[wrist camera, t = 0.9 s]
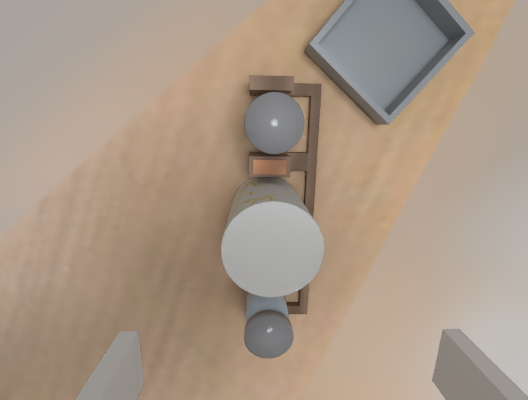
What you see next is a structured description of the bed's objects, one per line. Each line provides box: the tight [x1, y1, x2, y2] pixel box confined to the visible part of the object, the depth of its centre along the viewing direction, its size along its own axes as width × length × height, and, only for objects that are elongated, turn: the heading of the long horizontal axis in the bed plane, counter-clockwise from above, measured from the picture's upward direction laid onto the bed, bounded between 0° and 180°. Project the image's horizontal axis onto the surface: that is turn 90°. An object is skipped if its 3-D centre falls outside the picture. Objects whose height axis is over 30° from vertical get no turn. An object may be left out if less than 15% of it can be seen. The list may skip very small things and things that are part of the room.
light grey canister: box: [221, 177, 324, 297], centre depth 28 cm, size 8×8×12 cm
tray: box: [304, 0, 475, 125], centre depth 29 cm, size 11×11×3 cm
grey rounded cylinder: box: [244, 92, 304, 154], centre depth 27 cm, size 5×5×10 cm
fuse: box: [244, 292, 293, 358], centre depth 32 cm, size 5×5×10 cm
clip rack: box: [249, 75, 322, 314], centre depth 32 cm, size 8×28×5 cm, turn 179°
